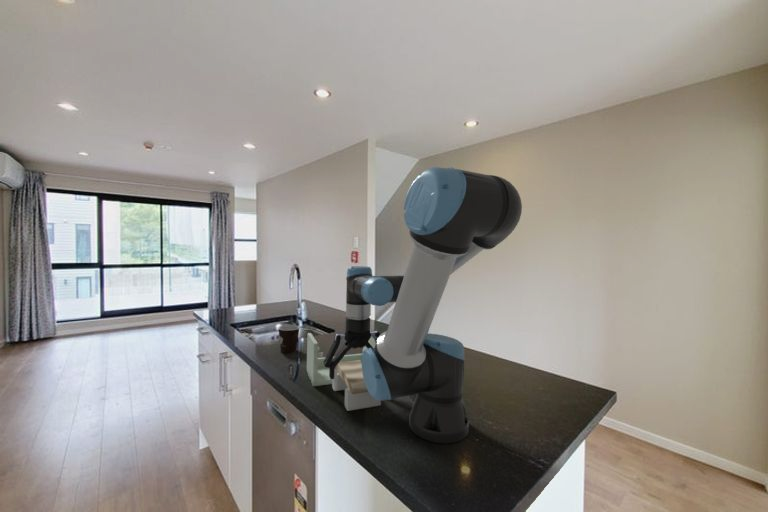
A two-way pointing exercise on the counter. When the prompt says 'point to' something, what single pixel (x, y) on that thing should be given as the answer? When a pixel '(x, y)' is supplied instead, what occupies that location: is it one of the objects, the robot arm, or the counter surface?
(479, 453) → the counter surface
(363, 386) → the stacked rolled towels
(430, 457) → the counter surface
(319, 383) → the shelf unit
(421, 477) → the counter surface
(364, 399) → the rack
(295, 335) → the coffee mug
